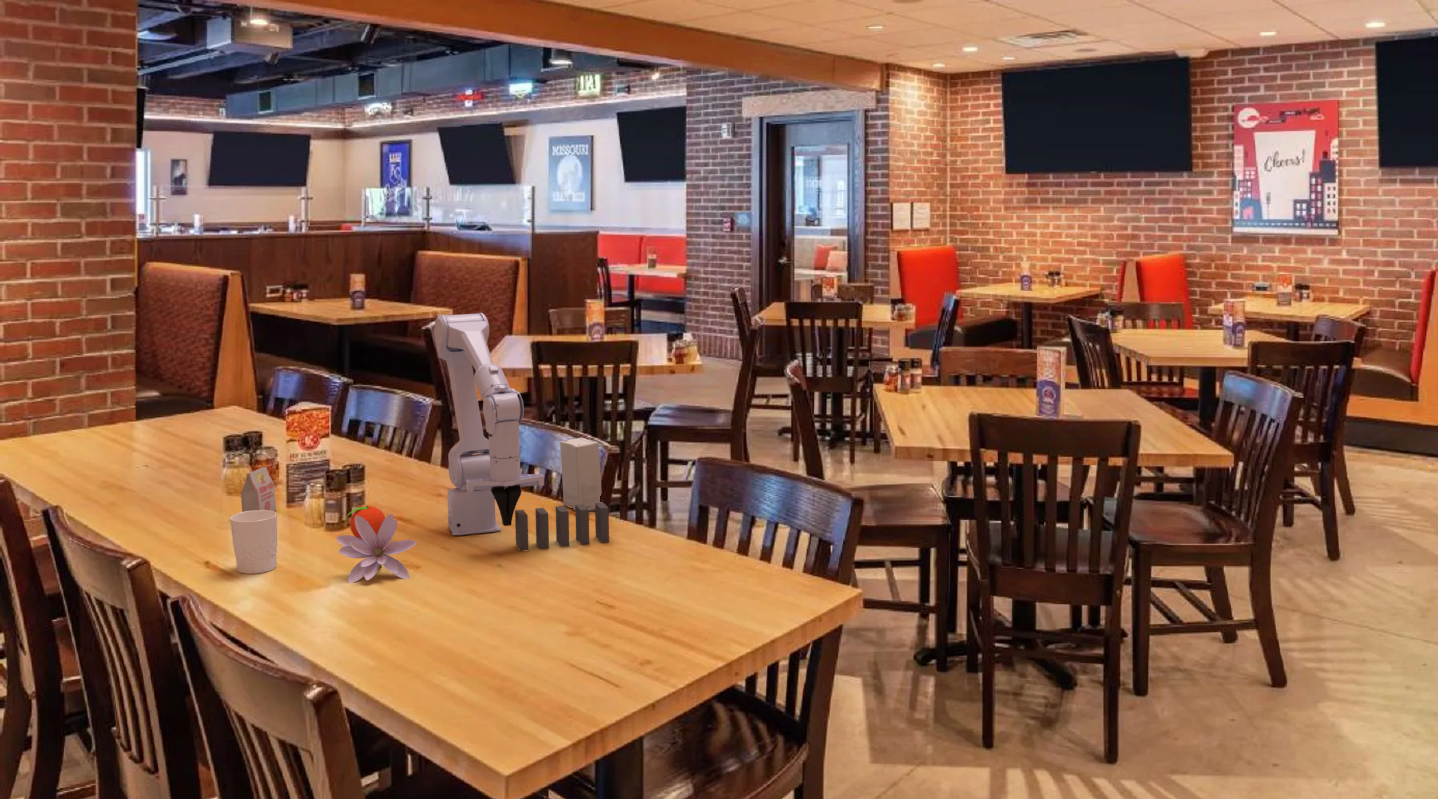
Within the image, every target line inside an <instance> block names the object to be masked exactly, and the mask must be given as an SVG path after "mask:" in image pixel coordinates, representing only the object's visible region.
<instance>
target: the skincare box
mask: <svg viewBox="0 0 1438 799" xmlns="http://www.w3.org/2000/svg"><path fill="white" fill-rule="evenodd" d="M599 444H600V443H599V442H597V441H594V440H590V439H587V438H584V437H578V438H573V439H567V440H566V439H565V440H561V441H559V445H560V446H559V447H560V463H561V465H560V466H561V480H562V495H563V496H562V500H563V506H564V505H567V506H569V507H571V508H573V509H572V510H574V509H575V505H578V504H584V505H585V506H586V507H587V508H588V509H589V512H590V511H591V512H592V511H595V503H600V496H601V494H603V493H602V476H601V474H602V473H601V461H600V460H601V457H600V445H599ZM567 506H566V507H567ZM569 507H568V508H569ZM571 508H570V509H571Z"/></svg>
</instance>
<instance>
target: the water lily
mask: <svg viewBox="0 0 1438 799" xmlns="http://www.w3.org/2000/svg"><path fill="white" fill-rule="evenodd" d="M355 525H356V529H357V531H358V533H359V534H360V536H361V538H362V539H363V540H362V539H360V538H357V537H355V536H354V535H350V534H343V535H341V534H340V535H338V536H336V538H335V539H336V541H337V542H338V543H339V545H341V546H342V547H341V548H340V549H338V551H337V552H338V554H340V555H342V556H344V557H346V558H351V559H362V560H360V561H359V562H358V563H357V564H356V565H355V566H354V567H353V568H352V569H351V570H350V571H349V572H350V573H349V574H348V578H347V583H348V584H353V583H355V582H358V581H359V580H361V579H362V578H363V577H364V578H365V580H366V581H369V580H371V579H372V578H373V577H374V576H376V574H377V573H378V570H379V569H381V568H382V567H384V568H385V569H386V570H388V571H389V572H391V573H392V574H393V575H395V577H399V578H400V579H403V580H408V579H410V574H409V571H408V569H407V568H406V566H405V565H404V564H403V563H402V562H401V561H399V560H398V559H396V558H394V557H393V556H391V555H396V554H397V555H398V554H401V553H403V552H407V551H408V550H410V549H412V548H413V547H414V546H416V545H417V541H416V540H412V539H404V540H399V541H397V540H393V541H392V542H391V540H392V539H393V538H394V535H395V533H396V532H397V531H396V530H397V529H398V528H397V527H398V519H395V516H394V513H390V514H388V515H387V516H385V519H384V521H383V523H382V525H381V527H380V529H379V531H378V534H377V536H376V534H375V532H374V530H373V529H372V527H371V526H370V524H369V523H368V522H367V521H366V520H365V519H364V518H362V517H360V516H357V515H356V516H355Z"/></svg>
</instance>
